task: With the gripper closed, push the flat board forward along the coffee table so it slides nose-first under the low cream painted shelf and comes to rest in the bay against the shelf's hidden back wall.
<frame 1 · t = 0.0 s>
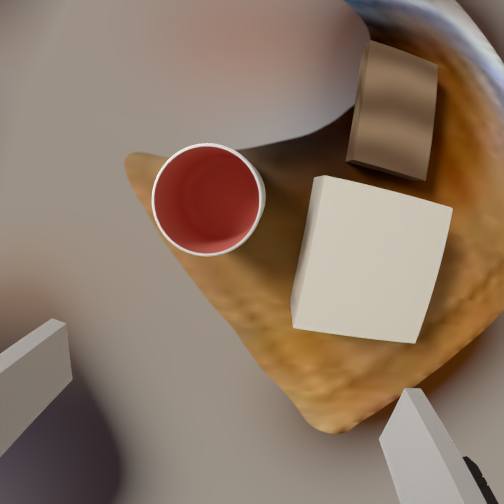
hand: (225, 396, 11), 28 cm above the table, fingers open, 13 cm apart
cup: (223, 196, 37), on the table
board: (388, 114, 34), on the table
shelf: (358, 251, 37), on the table
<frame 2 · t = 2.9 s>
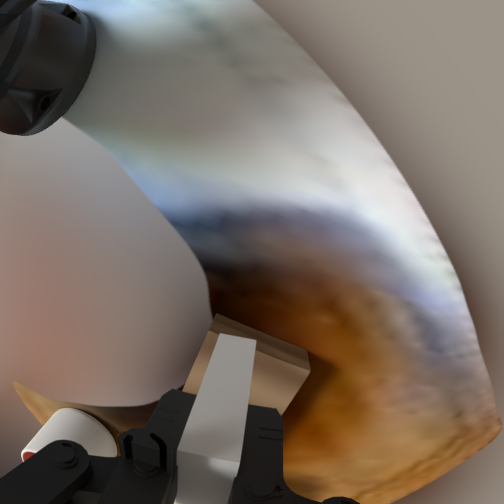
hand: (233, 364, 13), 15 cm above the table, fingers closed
cup: (88, 431, 34), on the table
board: (231, 389, 30), on the table
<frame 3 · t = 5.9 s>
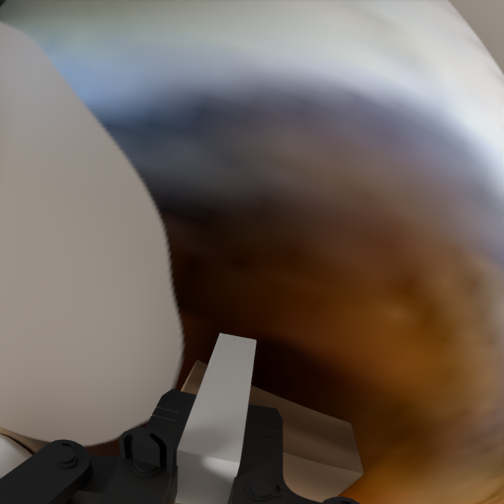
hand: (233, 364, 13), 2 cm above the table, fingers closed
cup: (27, 464, 20), on the table
board: (219, 469, 17), on the table
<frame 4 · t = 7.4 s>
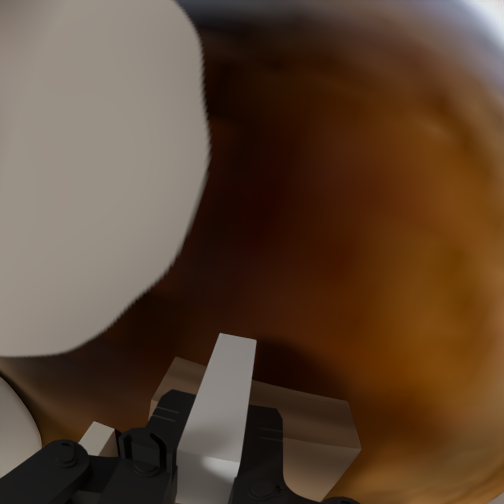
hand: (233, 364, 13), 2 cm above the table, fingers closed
cup: (4, 405, 18), on the table
board: (228, 465, 17), on the table, touching gripper
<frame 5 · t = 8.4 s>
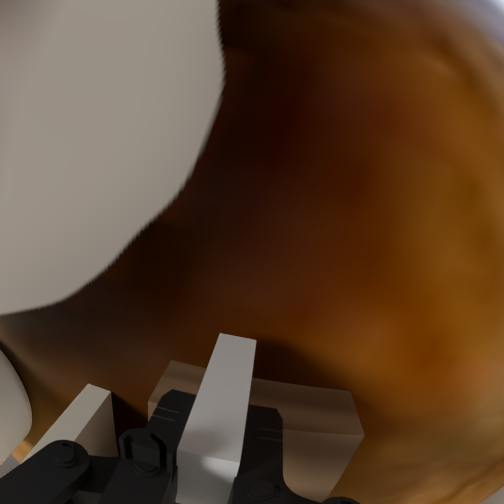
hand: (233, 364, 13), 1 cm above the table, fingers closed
board: (239, 463, 17), on the table, touching gripper
shelf: (196, 489, 17), on the table
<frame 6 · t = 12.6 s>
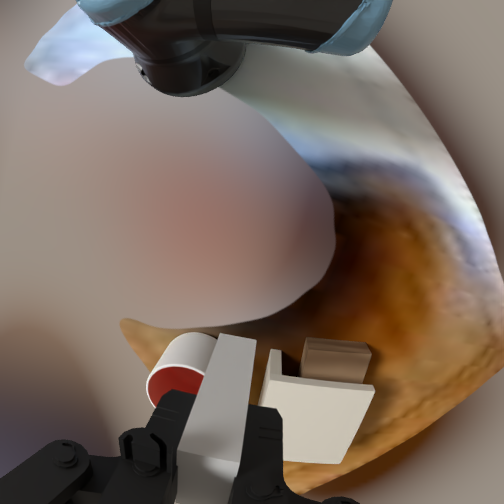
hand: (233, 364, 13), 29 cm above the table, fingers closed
cup: (200, 357, 46), on the table
board: (324, 380, 46), on the table
shelf: (305, 395, 46), on the table
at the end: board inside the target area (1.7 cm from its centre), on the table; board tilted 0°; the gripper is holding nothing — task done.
